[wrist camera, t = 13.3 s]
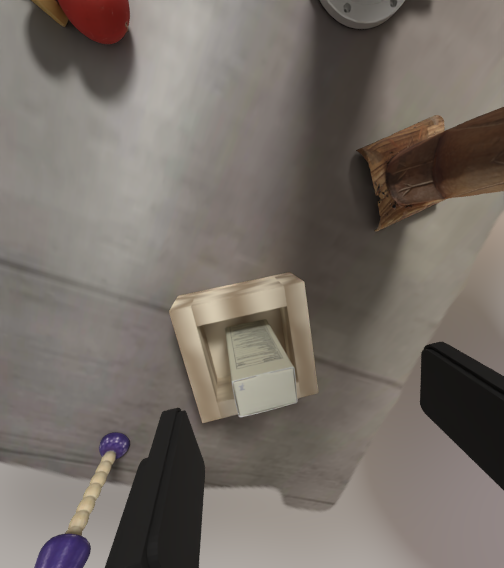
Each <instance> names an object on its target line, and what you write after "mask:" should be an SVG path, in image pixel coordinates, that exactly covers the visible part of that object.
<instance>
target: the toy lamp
mask: <svg viewBox="0 0 504 568" xmlns="http://www.w3.org/2000/svg"><path fill="white" fill-rule="evenodd" d="M129 446H130V441H129V439H128V438H127V437H126V436H125V435H124V434H122V433H110V434H107V435H106V436H104V437H103V439H102V440H101V442H100V446H99V451H100V454H101V456H102V460H101V463H100V464H99V466H98V467H97V469H96V473H95V475H94V476H93V477H92V479H91V481H90V486H89V487H88V488H87V489H86V491H85V493H84V496H83V500H82V501H81V502H80V504H79V505H78V508H77V510H76V514H75V515H74V516H73V518H72V519H71V521H70V524H69V528H68V530H67V531H66V533H65V534H61V535H58V536H55V537H53V538H51V539H50V540H49V541H47V542H46V543H45V545H44V546H43V547H42V549H41V551H40V553H39V555H38V558H37V561H36V564H35V567H34V568H83V567H84V565H85V563H86V561H87V559H88V557H89V554H90V550H91V548H90V543H89V542H88V541H87V539H86V538H84V537H82V536H81V535H82V531H83V529H84V528H85V526H86V525H87V522H88V519H89V514H90V513H91V512H92V510H93V508H94V506H95V501H96V499H97V498H98V497H99V494H100V492H101V488H102V486H103V485H104V484H105V481H106V478H107V475H108V474H109V472H110V470H111V465H112V464H113V463H114V461H115V459H118V458H120V457H122V456H123V455H124V454H125V453H126V451H127V450H128V448H129Z"/></svg>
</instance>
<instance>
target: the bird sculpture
mask: <svg viewBox="0 0 504 568" xmlns="http://www.w3.org/2000/svg"><path fill="white" fill-rule="evenodd" d="M434 133H435V134H434ZM407 146H409V147H407ZM356 151H358V152H359V153H361V154H362V156H363V157H364V158H365V159H366V160H367V162H368V163H369V167H370V169H371V171H370V172H371V176H372V181H373V187H374V189H375V194H376V196H378V195H379V197H380V198H381V199H383V200H382V201H380V203H379V201H378V207H379V215H380V217H381V218H380V222H379V226H378V228H377V229H376V230H375V231H379V230H381V229H384V228H385V227H388V226H390V225H392V224H394V223H396V222H399V221H401V220H403V219H405V218H407V217H410V216H412V215H414V214H416V213H418V212H420V211H422V210H424V209H426V208H429V207H431V206H433V205H435V204H437V203H439V202H441V201H443V200H445V199H448V198H453V197H464V196H472V195H479V194H483V193H492V192H499V191H504V107H502V108H499V109H497V110H494V111H491V112H489V113H487V114H484V115H481V116H478V117H476V118H474V119H471V120H469V121H466V122H464V123H462V124H459V125H457V126H456V127H453V128H451V129H448V130H446V131H444V120H443V118H442V117H441V116H439V115H435V116H433V117H430V118H428V119H426V120H423V121H421V122H419V123H417V124H414V125H412V126H410V127H408V128H406V129H404V130H402V131H399V132H397V133H394V134H392V135H391V136H389V137H387V138H383V139H381V140H379V141H377V142H375V143H373V144H370V145H368V146H365V147H363V148H360V149H358V150H356ZM390 152H391V154H390ZM398 152H399V153H398ZM394 155H395V156H394ZM392 156H393V157H392ZM391 157H392V158H391ZM389 161H390V162H389ZM387 162H389V163H388V164H387ZM374 182H376V183H377V186H376V184H375V183H374ZM379 184H380V188H379V189H378V191H377V188H378V185H379ZM381 185H383V186H381ZM387 189H388V190H389V191H388V190H387ZM379 190H381V192H380V194H378V193H379ZM386 190H387V192H385V191H386ZM382 192H384V193H385V195H383V194H382ZM386 194H387V195H388V197H386V196H387V195H386ZM384 197H385V198H384ZM381 199H380V200H381ZM394 201H395V202H397V204H394V203H395V202H394ZM390 203H391V205H390ZM408 205H412V206H409V207H408ZM405 206H406V208H405ZM383 214H384V215H383Z"/></svg>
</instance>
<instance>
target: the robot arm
mask: <svg viewBox="0 0 504 568" xmlns="http://www.w3.org/2000/svg"><path fill="white" fill-rule="evenodd" d="M404 1H405V0H320V2H321V4H322V5H323V7H324V8H325V9H326V10H327V12H328V13H329V14H330V15H331V16H332V17H333V18H334V19H336V20H337V21H338V22H340V23H342V24H344V25H345V26H347V27H351V28H355V29H368V28H372V27H376V26H378V25H380V24H382V23H383V22H385V21H386V20H388V19H389V18H390V17H391V16H392V15H394V13H395V12H396V11H397V10H398V9H399V8H400V6H401V5H402V4H403V3H404ZM420 405H421V408H422V410H423V411H424V412H425V414H426V415H427V416H428V417H429V418H430V419H431V420H432V421H433V422H434V423H435V424H437V426H439V427H440V429H442V430H443V431H444V432H445V433H446V434H447V435H448V436H449V437H450V438H451V439H452V440H453V441H454V442H455V443H456V444H457V445H458V446H459V447H460V448H461V449H462V450H463V451H464V452H465V453H466V454H467V455H468V456H469V457H470V458H471V459H472V460H473V461H474V462H475V463H476V464H477V465H478V466H479V467H480V468H481V469H482V470H484V472H485V473H487V474H488V475H489V476H490V477H491V478H492V479H493V480H494V481H495V482H496V483H497V484H498V485H499V486H500V487H501V488H502V489H503V490H504V376H502V375H501V374H499V373H497V372H495V371H494V370H492V369H490V368H488V367H486V366H485V365H483V364H481V363H480V362H478V361H476V360H474V359H473V358H471V357H469V356H467V355H466V354H464V353H462V352H460V351H459V350H457V349H455V348H453V347H452V346H450V345H448V344H446V343H444V342H437V343H433V344H429V345H426V346H425V347H424V350H423V351H422V354H421V390H420ZM204 480H205V465H204V461H203V458H202V455H201V452H200V449H199V447H198V444H197V441H196V438H195V435H194V433H193V430H192V427H191V424H190V421H189V419H188V416H187V413H186V411H181V409H180V408H175V409H171V410H167V411H163V412H162V414H161V417H160V420H159V424H158V427H157V430H156V434H155V437H154V440H153V443H152V447H151V450H150V453H149V457H148V458H145V459H143V460H142V461H141V462H140V465H139V467H138V470H137V473H136V476H135V479H134V482H133V485H132V488H131V491H130V494H129V497H128V500H127V503H126V506H125V509H124V512H123V515H122V518H121V521H120V524H119V527H118V530H117V533H116V536H115V539H114V542H113V545H112V548H111V551H110V554H109V557H108V560H107V563H106V566H105V568H199V555H200V554H199V553H200V540H201V525H202V509H203V495H204Z"/></svg>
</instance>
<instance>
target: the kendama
mask: <svg viewBox="0 0 504 568" xmlns="http://www.w3.org/2000/svg"><path fill="white" fill-rule="evenodd" d="M31 1H33V2H34V3H35V4H36V5H37V6H39V7H40V8H41V9H42V10H43V11H44V12H46V13H47V14H48V15H49V16H51V17H52V18H53V19H54V20H55V21H56V22H57V23H59V24H60V25H61V26H63V27H65V26H66V24H67V22H68V20H70V22H71V23H72V24H73V25H74V26H75V27H76V28H77V29H78V30H79V31H80V32H81V33H82V34H84V35H85V36H87V37H88V38H90V39H91V40H93V41H96V42H98V43H102V44H113V43H116V42H118V41H119V40H121V39H122V38H123V36H124V35H125V33H126V32H128V25H129V19H130V10H129V2H128V0H31Z"/></svg>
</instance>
